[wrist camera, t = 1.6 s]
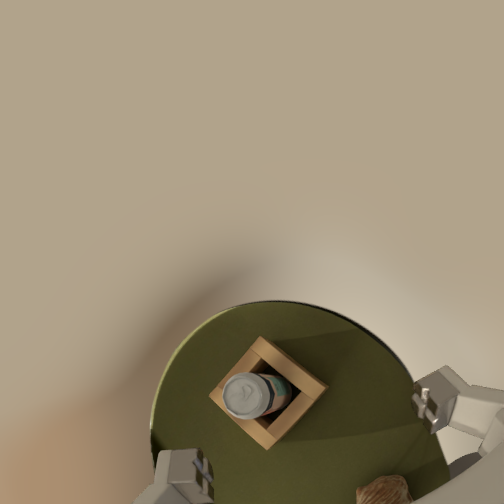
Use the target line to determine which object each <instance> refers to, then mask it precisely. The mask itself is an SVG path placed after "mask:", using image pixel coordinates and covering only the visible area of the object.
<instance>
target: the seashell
mask: <svg viewBox="0 0 504 504" xmlns="http://www.w3.org/2000/svg"><path fill="white" fill-rule="evenodd" d="M356 494H357V504H410V503H412V502H414V501H413V499H412V497H411V495H410V493H409V491H408V485H407V482H406V480H405V479H404V477H402V476H400V475H390V476H381V477H379V478H377V479H375V480H374V481H373V482H371V483H370V484H368V485H367V486H362V487H358V489H357V492H356Z"/></svg>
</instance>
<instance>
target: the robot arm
mask: <svg viewBox="0 0 504 504" xmlns="http://www.w3.org/2000/svg"><path fill="white" fill-rule="evenodd" d="M413 390H414V391H415V393H414V394H413V396H412V400H411V404H412V408H413V411H414V413H415V414H416V415H417V417H419V418H423V419H424V420H423V425H424V426H425V427H426V429H427V430H428V431H429V433H430V434H433V433H435V432H437V431H438V430H440V429H442V428H443V427H445V426H447V425H448V426H450V427H453V428H455V429H458V430H460V431H463V432H466V433H468V434H471V435H473V436H476V437H479V438H482V439H483V441H482V443H481V445H480V447H479V449H478V452H479V454H480V455H481V456H482V459H481V460H479V461H478V462H476V463H475V464H474V465H472V466H471V467H470V468H468V469H467V470H465V471H464V472H462V473H461V474H459V475H458V476H456V477H455V478H453V479H452V480H450V481H449V482H447V483H446V484H444V485H442V486H441V487H439V488H437V489H436V490H434V491H432V492H430V493H429V494H427V495H425V496H423V497H421V498H420V499H418V500H416V501H414V502H412V503H410V504H504V391H503V390H497V389H491V388H487V387H482V386H477V385H472V386H469V385H468V384H467V383H466V382H465V381H464V380H463V379H462V378H461V377H460V376H459V375H458V374H456V373H455V372H454V371H453V370H452V369H451V368H450V367H449V366H444V367H442V368H440V369H438V370H437V371H434V372H432V373H431V374H429V375H427V376H426V377H423V378H422V379H420V380H418V381H416V382H415V383H414V384H413ZM213 480H214V476H213V469H212V466H211V463H210V461H209V460H208V459H207V458H205V457H203V451H202V450H201V449H200V448H192V449H179V450H164V451H160V453H159V455H158V460H157V466H156V472H155V479H154V484H150V485H149V486H148V487H147V488H146V489H145V490H144V491H143V492H142V493H141V494H140V495H139V496H138V497H137V498H136V499H135V500H134V501H133V502H132V503H131V504H204V503H213V502H214V489H213V487H212V486H211V485H210V484H211V482H212V481H213Z"/></svg>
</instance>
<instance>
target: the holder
mask: <svg viewBox="0 0 504 504" xmlns="http://www.w3.org/2000/svg"><path fill="white" fill-rule="evenodd" d="M269 364H270V365H271V366H272V367H273V368H274V369H275V370H277V371H278V372H279V373H280V374H281V375H283V376H284V377H285V378H286V379H288V380H289V381H290V382H291V383H292V384H294V385H295V386H296V387H297V388H299V389H300V390H301V392H300V394H299V395H298V396H297V397H296V398H295V399H294V400H293V401H292V403H291V404H290V405H289V406H288V407H287V408H286V409H285V410H284V411H283V412H282V414H281V415H280V416H279V417H278V418H277V419H276V420H275V421H272V420H271V419H270V418H269V417H268V416H267V415H263V416H260V417H257V418H254V419H246V420H245V419H240V418H237V417H235V416H233V415H232V414H231V413H229V412H228V410H227V409H226V407H225V405H224V402H223V398H222V394H223V388H224V386H225V384H226V382H227V381H228V380H229V379H230V378H231V377H232V376H234V375H236V374H238V373H244V372H248V373H257V374H262V372H263V371H264V370H265V369H266V368H267V367H268V365H269ZM328 388H329V386H327V385H326V384H325V383H323V382H322V381H321V380H319V379H318V378H317V377H316V376H314V375H313V374H312V373H310V372H309V371H308V370H307V369H305V368H304V367H303V366H301V365H300V364H299V363H298V362H296V361H295V360H294V359H293V358H291V357H290V356H289V355H288V354H286V353H285V352H284V351H283V350H281V349H280V348H279V347H278V346H277V345H275V344H274V343H273V342H272V341H270V340H268V339H266V338H264V337H262V336H260V337H259V338H258V339H257V340H256V341H255V343H254V344H253V345H252V346H251V347H250V349H249V350H248V351H247V352H246V353H245V354H244V356H243V357H242V358H241V359H240V360H239V361H238V363H237V364H236V365H235V366H234V367H233V368H232V370H231V371H230V372H229V373H228V374H227V375H226V376H225V378H224V379H223V380H222V381H221V382H220V383H219V384H218V386H217V387H216V388H215V389H214V390H213V391H212V392H211V393H210V394H209V396H210V397H211V398H212V399H213V401H214V402H215V403H216V404H217V405H218V406H219V407H220V408H222V409H223V410H224V411H225V412H226V413H227V414H228V415H229V416H230V417H231V418H232V419H233V420H234V421H235V422H236V423H237V424H238V425H239V426H240V427H241V428H242V429H244V430H245V431H246V432H247V433H248V434H249V435H250V436H251V437H252V438H254V439H255V440H256V441H257V442H258V443H259V444H260V445H261V446H263V447H264V448H265V449H266V450H269V449H270V448H271V447H273V446H274V445H275V444H277V443H278V442H279V441H280V440H281V439H282V438H283V437H284V436H285V435H286V434H287V433H288V432H289V431H290V430H291V429H292V428H293V427H294V426H295V425H296V424H297V423H298V422H299V421H300V419H301V418H302V417H303V416H304V415H305V414H306V413H307V412H308V411H309V410H310V409H311V407H312V406H313V405H314V404H315V403H316V402H317V401H318V399H319V398H320V397H321V396H322V395H323V394H324V392H325V391H326V390H327V389H328Z"/></svg>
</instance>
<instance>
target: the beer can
mask: <svg viewBox="0 0 504 504" xmlns="http://www.w3.org/2000/svg"><path fill="white" fill-rule="evenodd" d="M291 397H292V388H291V385H290V384H289V382H288V381H287V380H286V379H285V378H283V377H281V376H278V375H267V374H257V373H248V372H244V373H238V374H236V375H234V376H232V377H231V378H230V379H229V380H228V381H227V382H226V384H225V386H224V388H223V394H222V398H223V402H224V405H225V407H226V409H227V410H228V412H229V413H231V414H232V415H233V416H235V417H237V418H240V419H245V420H246V419H254V418H257V417H260V416H263V415H266V414H268V413H271V412H274V411H277V410H280V409H282V408H284V407H285V406H286V405H287V404H288V403H289V402H290V400H291Z"/></svg>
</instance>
